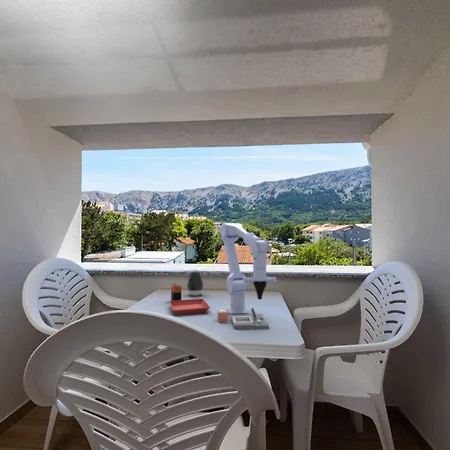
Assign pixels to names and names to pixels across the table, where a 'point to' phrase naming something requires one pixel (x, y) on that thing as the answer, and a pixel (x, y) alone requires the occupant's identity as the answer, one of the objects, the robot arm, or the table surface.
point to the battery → (175, 292)
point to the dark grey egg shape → (195, 283)
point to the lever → (253, 312)
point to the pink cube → (222, 315)
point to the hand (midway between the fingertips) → (259, 298)
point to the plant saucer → (189, 306)
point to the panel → (248, 321)
